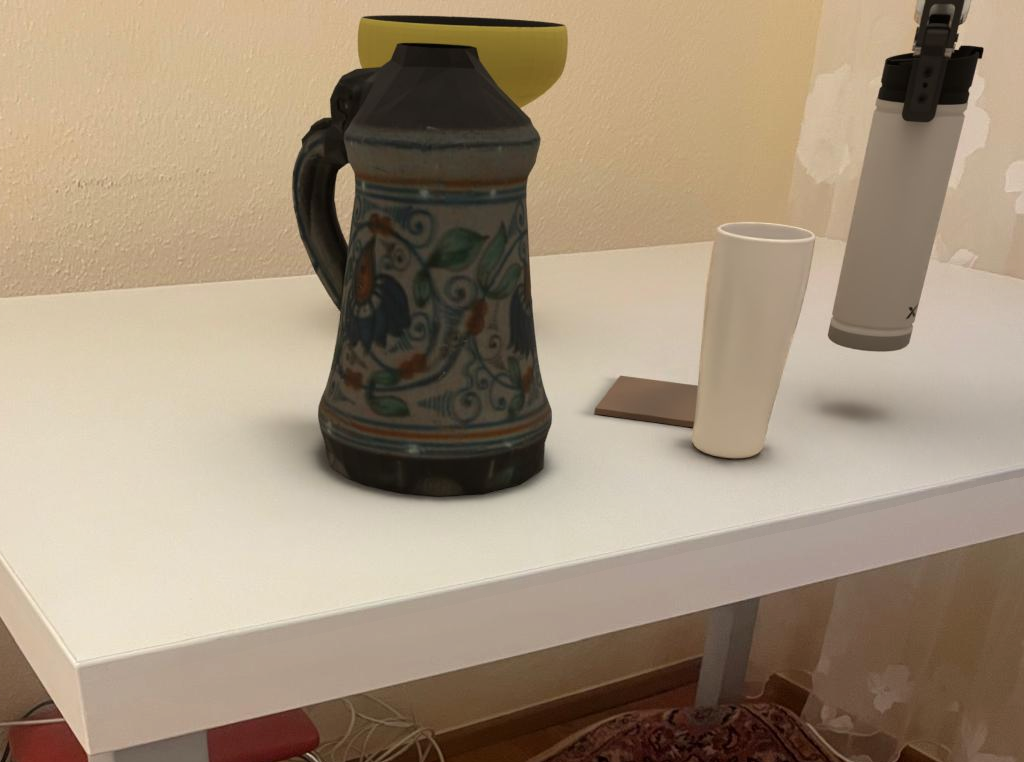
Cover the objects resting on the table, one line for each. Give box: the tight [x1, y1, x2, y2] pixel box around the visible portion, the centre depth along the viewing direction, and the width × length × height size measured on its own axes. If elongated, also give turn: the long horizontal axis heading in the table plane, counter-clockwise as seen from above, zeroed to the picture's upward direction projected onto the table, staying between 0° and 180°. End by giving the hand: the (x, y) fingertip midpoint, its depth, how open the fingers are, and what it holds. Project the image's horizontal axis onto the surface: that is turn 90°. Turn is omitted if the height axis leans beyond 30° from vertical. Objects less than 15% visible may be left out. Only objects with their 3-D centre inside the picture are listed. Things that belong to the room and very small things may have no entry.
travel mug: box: [827, 44, 985, 353], centre depth 89 cm, size 6×7×20 cm
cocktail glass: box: [357, 14, 569, 109], centre depth 109 cm, size 18×18×25 cm
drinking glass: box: [691, 221, 817, 459], centre depth 85 cm, size 7×7×15 cm
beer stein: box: [291, 43, 553, 497], centre depth 79 cm, size 16×19×25 cm
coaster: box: [593, 375, 698, 428], centre depth 98 cm, size 10×10×1 cm
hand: (917, 116), depth 86 cm, fingers closed on travel mug, 6 cm apart
